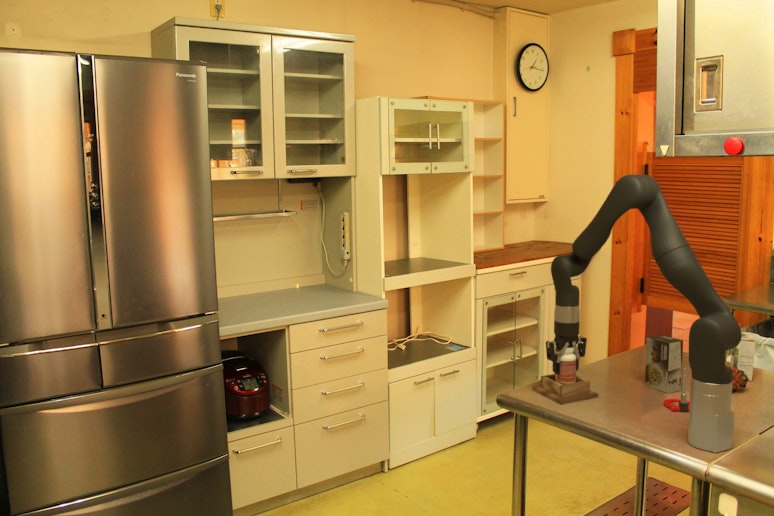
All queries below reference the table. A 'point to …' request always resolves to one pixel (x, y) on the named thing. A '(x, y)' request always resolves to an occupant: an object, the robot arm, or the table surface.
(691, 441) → the robot arm
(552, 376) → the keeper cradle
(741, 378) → the dragon fruit
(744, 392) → the table surface
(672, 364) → the coffee box
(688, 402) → the tow hook
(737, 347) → the syrup box
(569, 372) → the pill bottle
